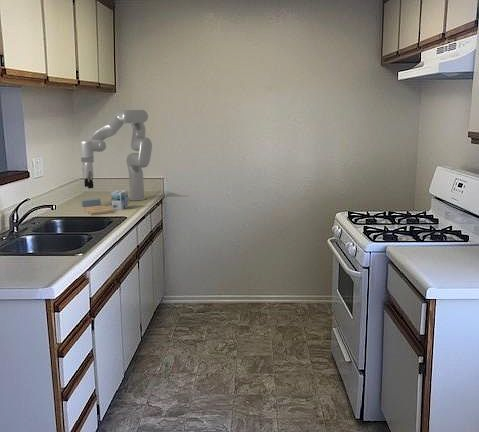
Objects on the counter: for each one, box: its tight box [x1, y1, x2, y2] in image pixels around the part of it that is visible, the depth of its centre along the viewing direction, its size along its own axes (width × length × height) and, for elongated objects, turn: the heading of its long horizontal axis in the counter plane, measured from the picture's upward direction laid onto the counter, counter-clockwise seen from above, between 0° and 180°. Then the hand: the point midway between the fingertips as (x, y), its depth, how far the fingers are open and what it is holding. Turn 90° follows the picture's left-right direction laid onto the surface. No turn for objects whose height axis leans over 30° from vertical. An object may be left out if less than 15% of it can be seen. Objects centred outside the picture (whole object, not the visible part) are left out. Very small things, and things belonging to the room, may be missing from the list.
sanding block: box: [80, 197, 102, 209], centre depth 354 cm, size 6×11×5 cm, turn 112°
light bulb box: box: [110, 189, 129, 211], centre depth 344 cm, size 11×7×11 cm, turn 168°
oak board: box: [82, 204, 116, 216], centre depth 337 cm, size 22×14×2 cm, turn 27°
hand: (89, 187), depth 351 cm, fingers open, 9 cm apart
